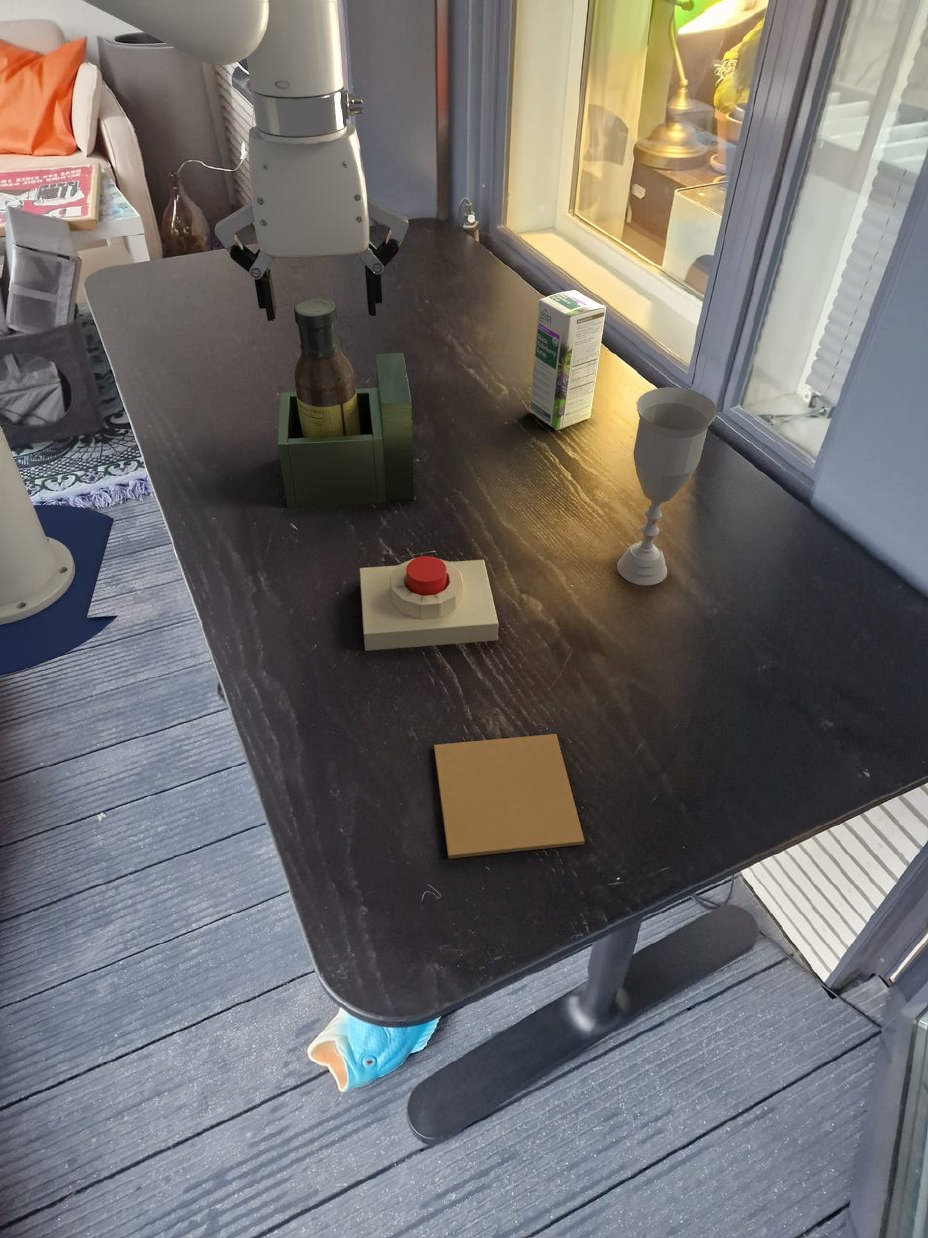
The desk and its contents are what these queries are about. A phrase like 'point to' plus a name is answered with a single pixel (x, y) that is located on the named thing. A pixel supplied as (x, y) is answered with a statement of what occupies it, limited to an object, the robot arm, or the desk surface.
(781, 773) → the desk surface
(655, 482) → the chalice
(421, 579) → the button
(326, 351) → the sauce bottle
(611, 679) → the desk surface
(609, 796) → the desk surface
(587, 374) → the syrup box
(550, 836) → the mat
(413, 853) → the desk surface
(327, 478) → the green open box holder
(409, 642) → the control block
